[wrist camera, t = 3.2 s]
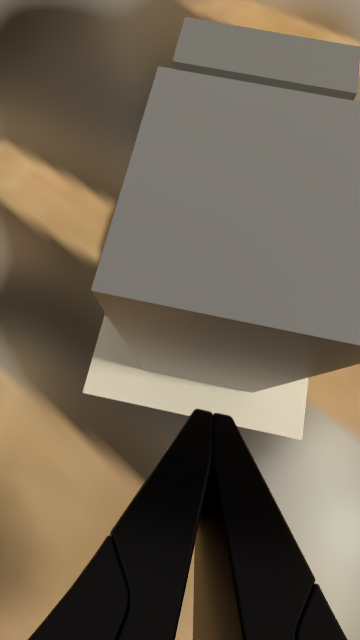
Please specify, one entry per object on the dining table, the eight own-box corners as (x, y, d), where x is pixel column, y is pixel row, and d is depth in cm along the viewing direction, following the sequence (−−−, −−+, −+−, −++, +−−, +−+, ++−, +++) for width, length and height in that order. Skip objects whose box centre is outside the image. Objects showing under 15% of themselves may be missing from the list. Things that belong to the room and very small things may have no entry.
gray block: (299, 402, 15) (533, 381, 5) (98, 360, 15) (-33, 265, 6) (310, 298, 16) (511, 128, 7) (125, 262, 16) (59, 49, 7)
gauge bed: (292, 438, 16) (385, 457, 9) (89, 394, 16) (25, 379, 9) (320, 178, 20) (399, 51, 13) (157, 147, 20) (148, 9, 13)
